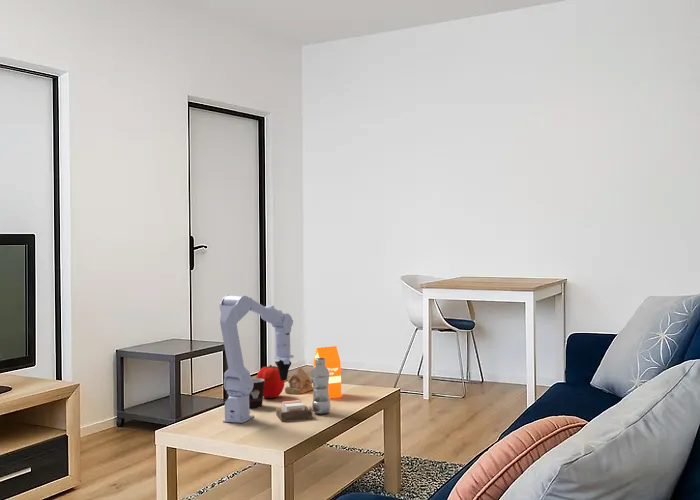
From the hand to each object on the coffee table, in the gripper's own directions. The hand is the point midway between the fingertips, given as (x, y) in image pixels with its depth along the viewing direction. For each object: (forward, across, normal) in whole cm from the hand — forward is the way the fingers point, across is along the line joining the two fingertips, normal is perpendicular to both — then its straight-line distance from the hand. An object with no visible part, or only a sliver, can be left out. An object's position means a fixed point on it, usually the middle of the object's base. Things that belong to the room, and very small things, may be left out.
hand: (283, 380), depth 275 cm
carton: (+10, -18, 0) cm, 20 cm away
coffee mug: (+10, +4, +13) cm, 17 cm away
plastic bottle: (+10, -17, -10) cm, 22 cm away
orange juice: (+10, +10, -20) cm, 24 cm away
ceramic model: (+10, +25, -11) cm, 29 cm away
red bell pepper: (+10, +16, +2) cm, 19 cm away
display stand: (+10, -17, 0) cm, 20 cm away
